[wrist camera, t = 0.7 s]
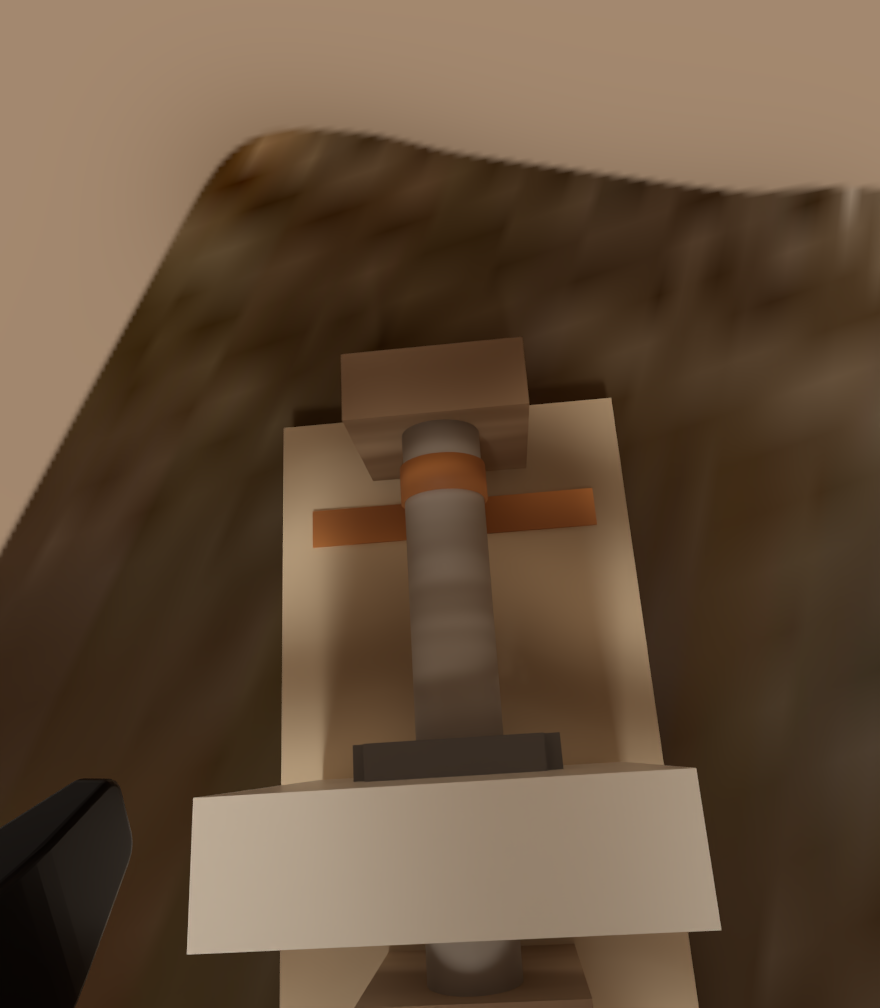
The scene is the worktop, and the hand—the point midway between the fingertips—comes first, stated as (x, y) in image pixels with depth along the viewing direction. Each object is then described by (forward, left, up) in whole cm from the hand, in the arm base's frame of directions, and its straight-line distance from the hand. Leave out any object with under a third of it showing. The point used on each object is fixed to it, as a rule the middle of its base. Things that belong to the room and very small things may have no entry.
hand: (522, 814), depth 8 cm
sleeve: (0, +1, -14) cm, 14 cm away
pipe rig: (+3, 0, -15) cm, 16 cm away
